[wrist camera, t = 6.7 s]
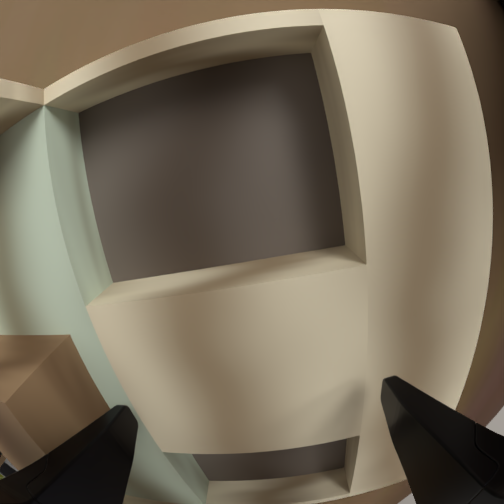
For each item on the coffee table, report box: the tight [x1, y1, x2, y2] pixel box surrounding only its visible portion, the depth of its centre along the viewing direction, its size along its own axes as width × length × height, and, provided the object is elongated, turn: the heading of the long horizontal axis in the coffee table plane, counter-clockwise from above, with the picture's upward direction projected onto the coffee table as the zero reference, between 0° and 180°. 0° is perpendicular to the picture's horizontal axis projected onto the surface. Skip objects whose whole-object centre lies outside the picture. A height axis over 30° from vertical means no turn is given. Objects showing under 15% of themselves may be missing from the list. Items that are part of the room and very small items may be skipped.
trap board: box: [0, 9, 493, 504], centre depth 9 cm, size 21×22×5 cm
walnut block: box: [0, 334, 110, 470], centre depth 7 cm, size 6×6×4 cm
